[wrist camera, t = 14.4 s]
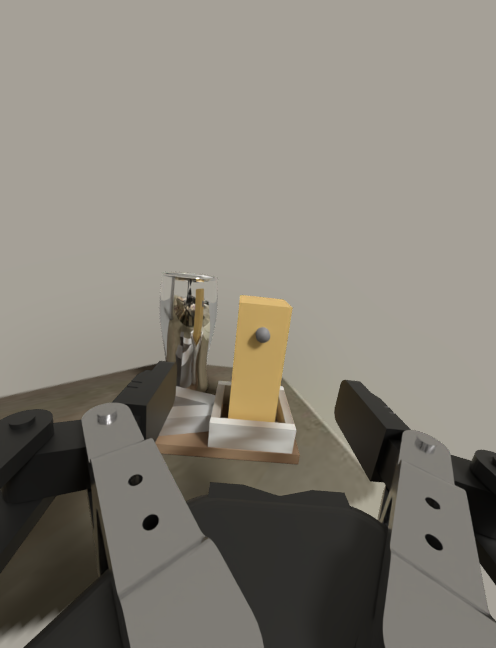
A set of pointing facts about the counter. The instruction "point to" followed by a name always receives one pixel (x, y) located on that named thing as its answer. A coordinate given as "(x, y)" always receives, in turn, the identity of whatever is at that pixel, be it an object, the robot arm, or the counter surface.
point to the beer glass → (188, 324)
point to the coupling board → (226, 429)
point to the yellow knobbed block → (259, 358)
